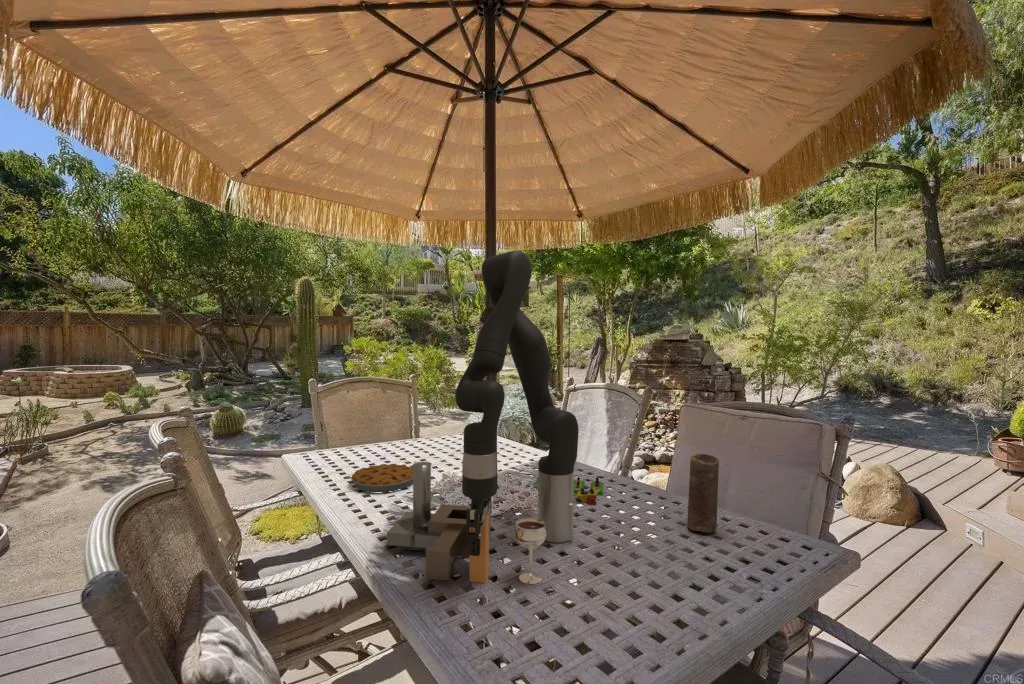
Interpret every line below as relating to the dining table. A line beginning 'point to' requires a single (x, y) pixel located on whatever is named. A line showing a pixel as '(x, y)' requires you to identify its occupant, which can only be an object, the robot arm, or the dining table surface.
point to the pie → (383, 478)
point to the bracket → (447, 540)
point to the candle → (703, 493)
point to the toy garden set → (585, 495)
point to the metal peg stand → (416, 514)
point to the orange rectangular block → (481, 556)
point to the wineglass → (530, 542)
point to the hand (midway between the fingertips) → (479, 545)
